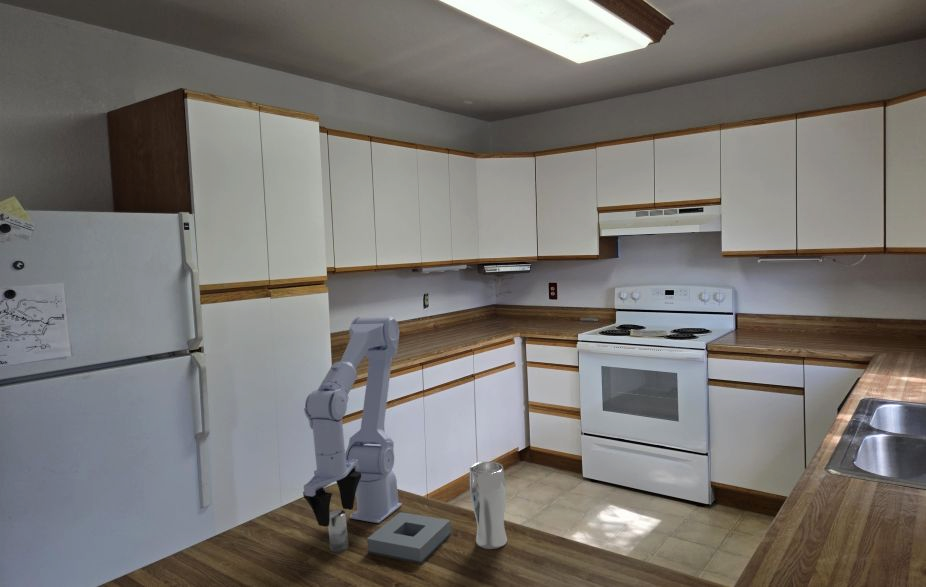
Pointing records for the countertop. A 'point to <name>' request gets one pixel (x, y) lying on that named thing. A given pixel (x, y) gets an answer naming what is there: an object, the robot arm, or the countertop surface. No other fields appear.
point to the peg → (338, 531)
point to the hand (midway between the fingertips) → (336, 516)
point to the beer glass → (488, 503)
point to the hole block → (409, 537)
